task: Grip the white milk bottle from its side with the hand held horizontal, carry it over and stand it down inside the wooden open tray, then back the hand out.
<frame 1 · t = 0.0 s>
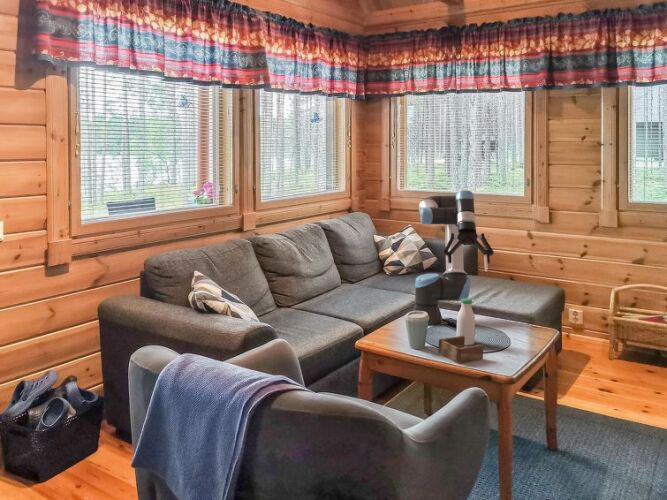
hand: (469, 270, 243), 36 cm above the table, tool tilted 35°, fingers open, 13 cm apart
disposable coffee cup: (416, 347, 260), on the table
wooden open tray: (460, 356, 247), on the table
milk bottle: (465, 343, 264), on the table
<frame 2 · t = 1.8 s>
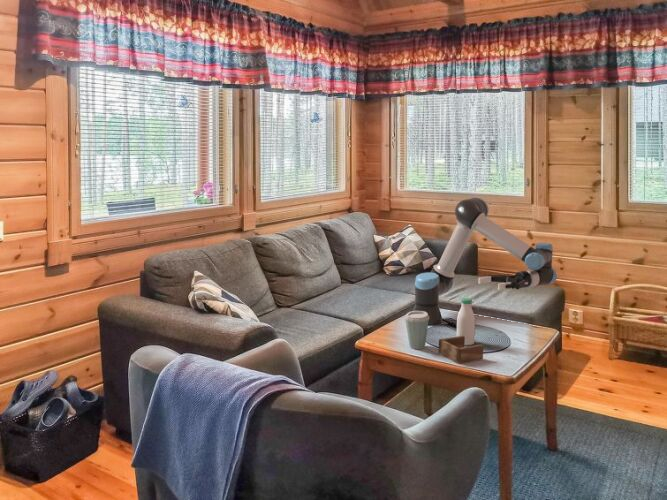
hand: (488, 283, 264), 26 cm above the table, tool horizontal, fingers open, 13 cm apart
nothing on the table moved.
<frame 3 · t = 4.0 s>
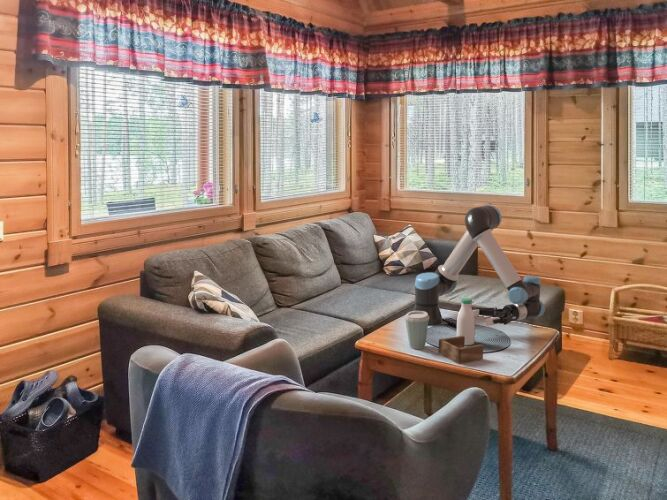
hand: (476, 318, 263), 11 cm above the table, tool horizontal, fingers open, 13 cm apart
nothing on the table moved.
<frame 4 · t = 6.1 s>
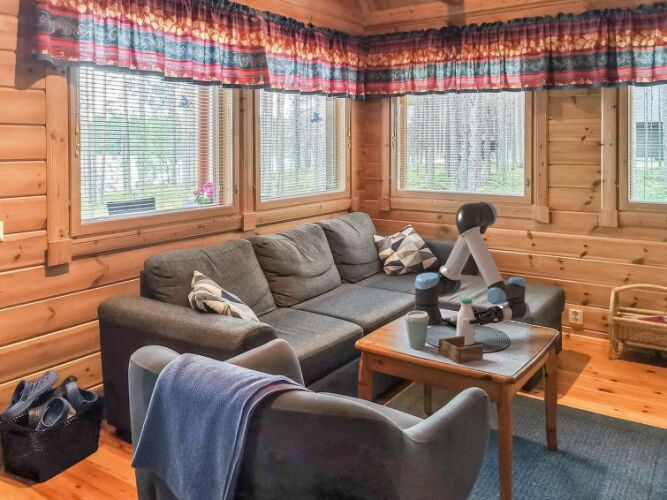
hand: (456, 320, 260), 11 cm above the table, tool horizontal, fingers closed on milk bottle, 7 cm apart
milk bottle: (465, 343, 264), on the table, touching gripper
everything else where it was.
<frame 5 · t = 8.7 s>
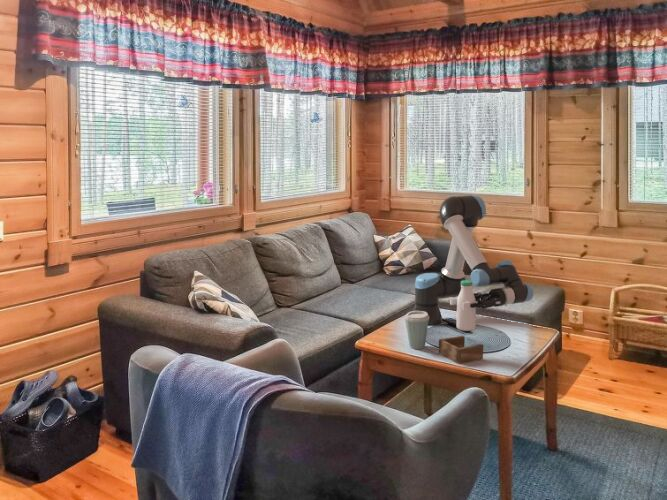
hand: (456, 304, 243), 23 cm above the table, tool horizontal, fingers closed on milk bottle, 7 cm apart
milk bottle: (465, 328, 247), point 11 cm above the table, touching gripper
everything else where it was.
when the fingers open (14 cm above the table, at t = 11.5 s): milk bottle drops 1 cm, resting on wooden open tray.
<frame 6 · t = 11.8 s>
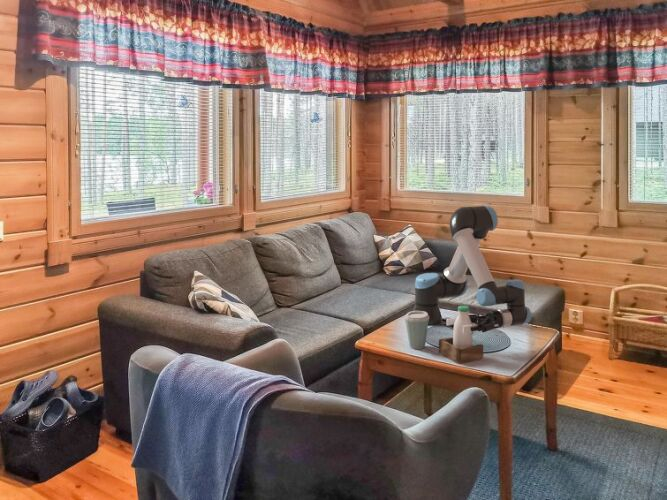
hand: (454, 325, 244), 14 cm above the table, tool horizontal, fingers open, 10 cm apart
milk bottle: (462, 353, 248), point 1 cm above the table, touching wooden open tray
everything else where it was.
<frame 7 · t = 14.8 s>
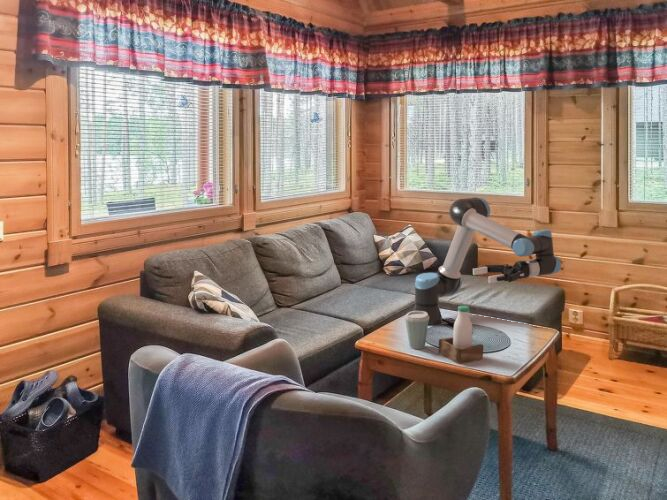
hand: (480, 275, 251), 32 cm above the table, tool horizontal, fingers open, 13 cm apart
nothing on the table moved.
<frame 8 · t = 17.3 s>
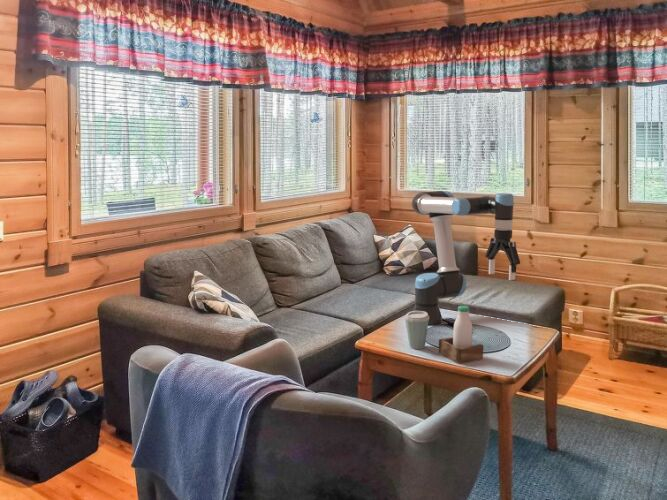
hand: (501, 276, 264), 29 cm above the table, tool pointing down, fingers open, 13 cm apart
nothing on the table moved.
at the end: milk bottle inside the target area on the wooden open tray (0.5 cm from its centre), point 0.8 cm above the wooden open tray's base; milk bottle tilted 0°; the gripper is holding nothing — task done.
